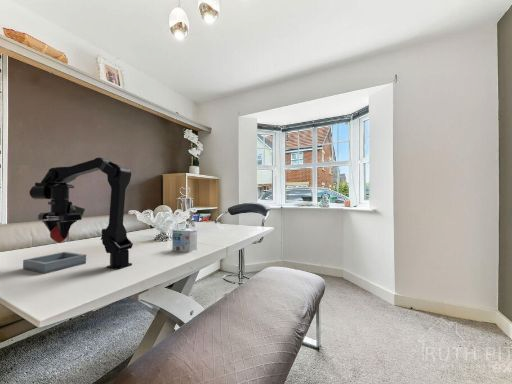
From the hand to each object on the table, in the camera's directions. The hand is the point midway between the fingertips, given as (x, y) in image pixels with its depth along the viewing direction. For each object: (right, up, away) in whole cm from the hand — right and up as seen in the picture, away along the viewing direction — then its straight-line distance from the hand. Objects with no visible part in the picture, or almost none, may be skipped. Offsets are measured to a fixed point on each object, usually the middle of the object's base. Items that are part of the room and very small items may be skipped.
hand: (59, 237), depth 93 cm
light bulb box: (+43, -12, +26) cm, 51 cm away
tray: (0, -11, -1) cm, 11 cm away
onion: (0, -2, 0) cm, 2 cm away
